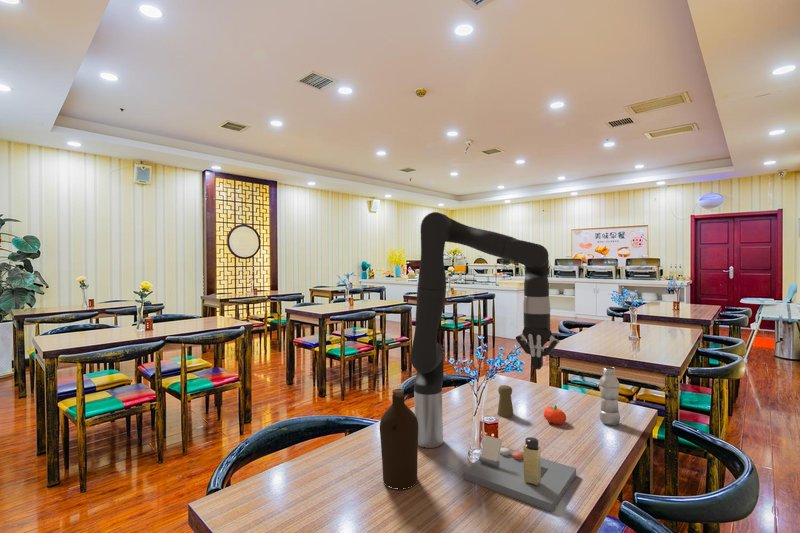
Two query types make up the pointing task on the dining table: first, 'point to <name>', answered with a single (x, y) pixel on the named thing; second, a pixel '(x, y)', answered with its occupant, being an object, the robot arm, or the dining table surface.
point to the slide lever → (532, 461)
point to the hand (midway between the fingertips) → (537, 368)
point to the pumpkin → (554, 415)
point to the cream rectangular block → (491, 451)
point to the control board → (512, 479)
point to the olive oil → (399, 443)
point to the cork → (505, 401)
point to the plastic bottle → (609, 397)
